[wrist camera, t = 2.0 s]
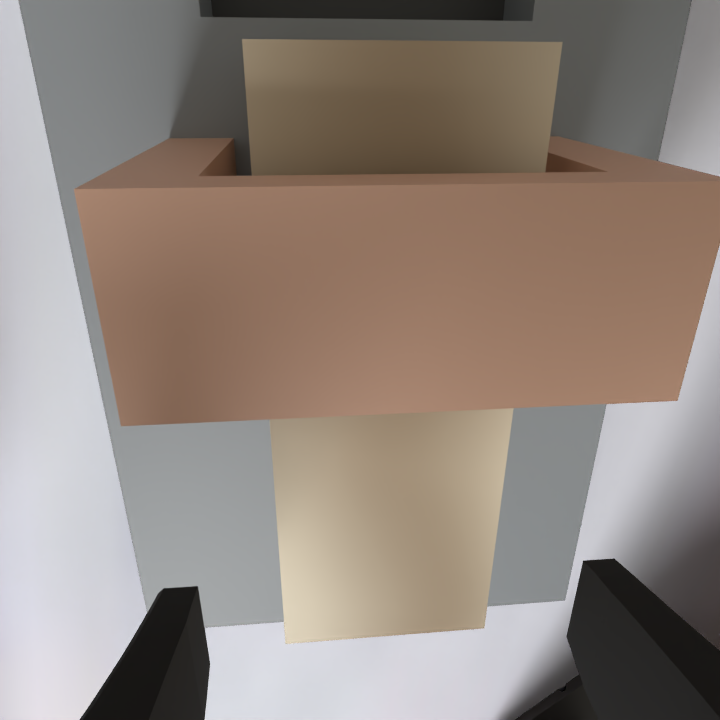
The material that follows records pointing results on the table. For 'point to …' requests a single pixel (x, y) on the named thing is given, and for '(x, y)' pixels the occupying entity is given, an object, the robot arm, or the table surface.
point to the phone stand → (563, 705)
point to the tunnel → (394, 284)
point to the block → (404, 430)
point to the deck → (230, 120)
